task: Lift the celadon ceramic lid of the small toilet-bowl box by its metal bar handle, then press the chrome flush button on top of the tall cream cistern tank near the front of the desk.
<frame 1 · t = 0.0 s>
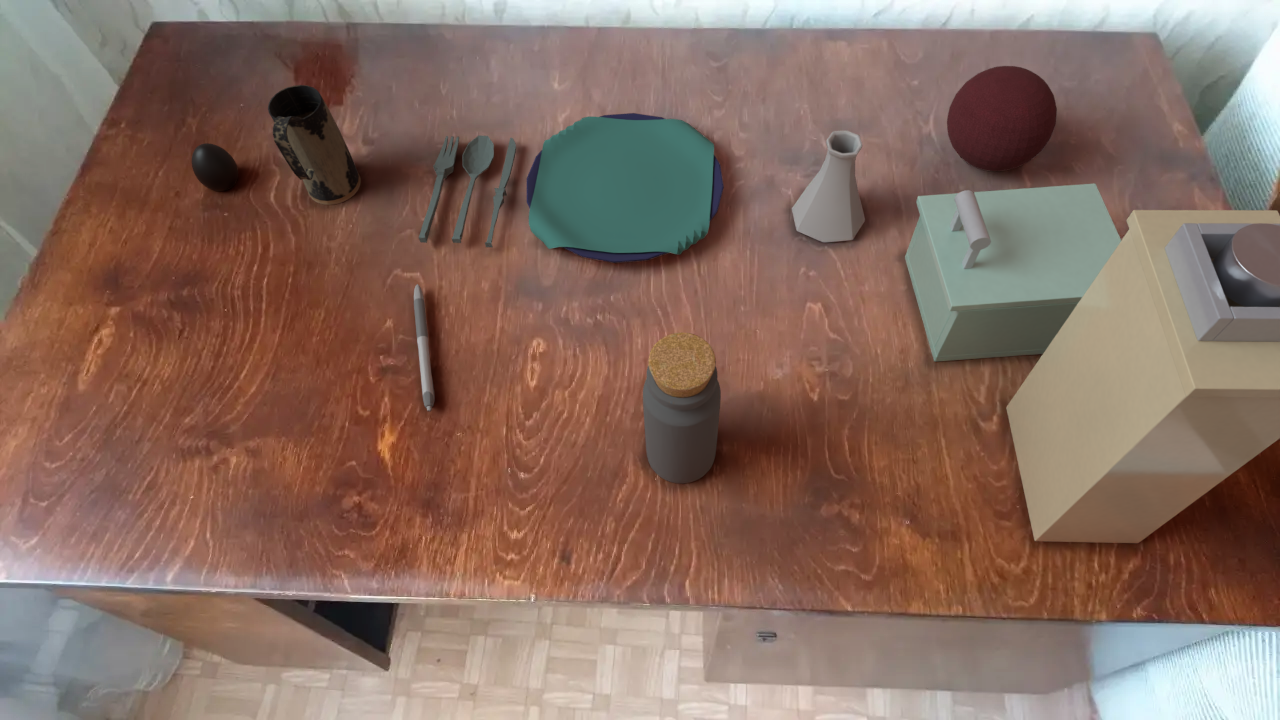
pale green box lid: (1034, 228, 71), point 10 cm above the table, hinge at 0.0°
flask: (827, 217, 86), on the table
cistern: (1068, 472, 71), on the table
egg: (224, 183, 91), on the table
cutlery set: (576, 194, 89), on the table
pen: (426, 351, 79), on the table
flush button: (1264, 266, 47), point 28 cm above the table, slide at 0.1 cm
bottle: (680, 453, 73), on the table
mug: (332, 193, 90), on the table
decorative ball: (984, 157, 89), on the table
bowl box: (998, 301, 80), on the table
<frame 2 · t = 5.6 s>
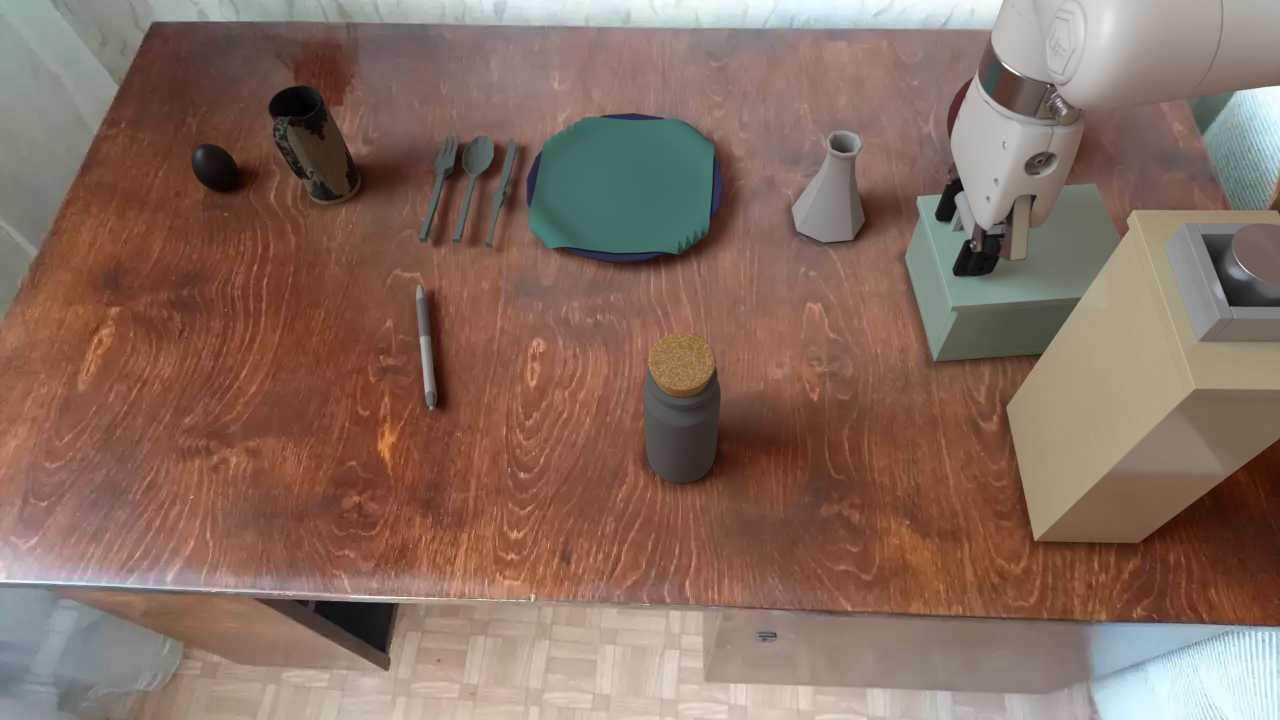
hand: (962, 243, 72), 9 cm above the table, tool pointing down, fingers closed on pale green box lid, 5 cm apart
pale green box lid: (1034, 228, 71), point 10 cm above the table, hinge at 0.0°, touching gripper
everything else where it was.
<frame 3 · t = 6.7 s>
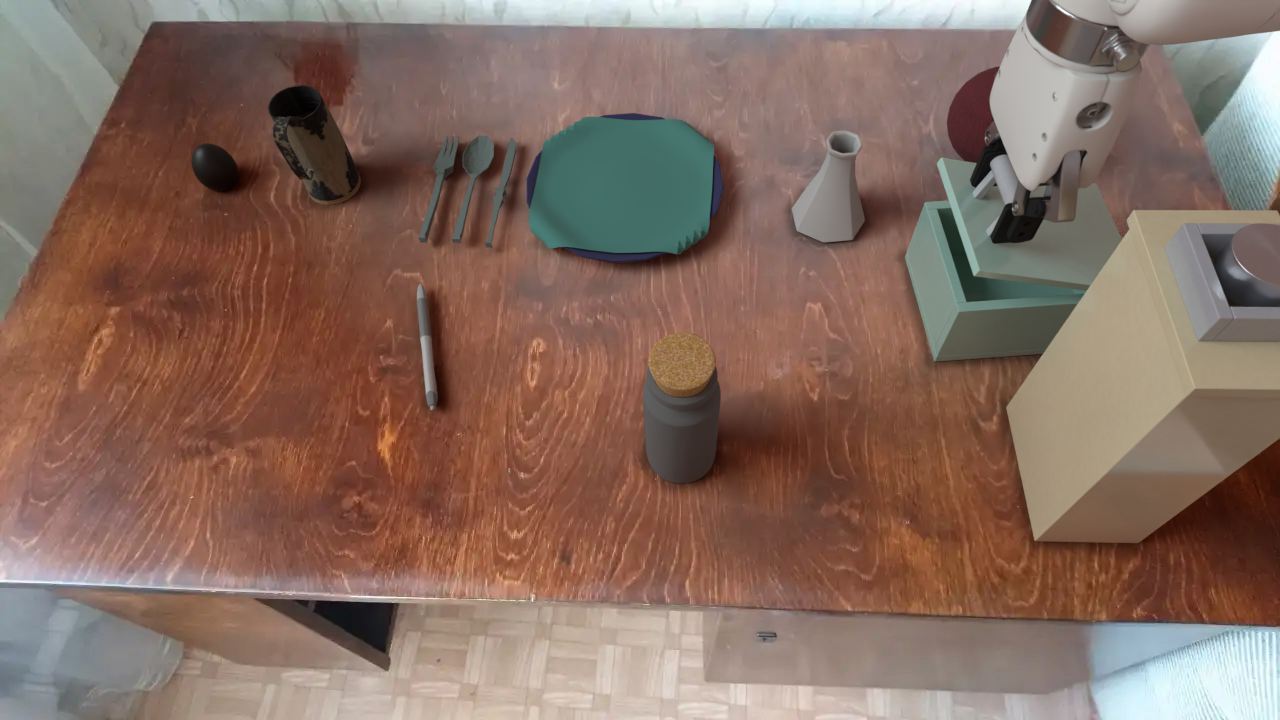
hand: (1000, 209, 68), 13 cm above the table, tool pointing down, fingers closed on pale green box lid, 5 cm apart
pale green box lid: (1056, 209, 69), point 13 cm above the table, hinge at 17.4°, touching gripper
everything else where it was.
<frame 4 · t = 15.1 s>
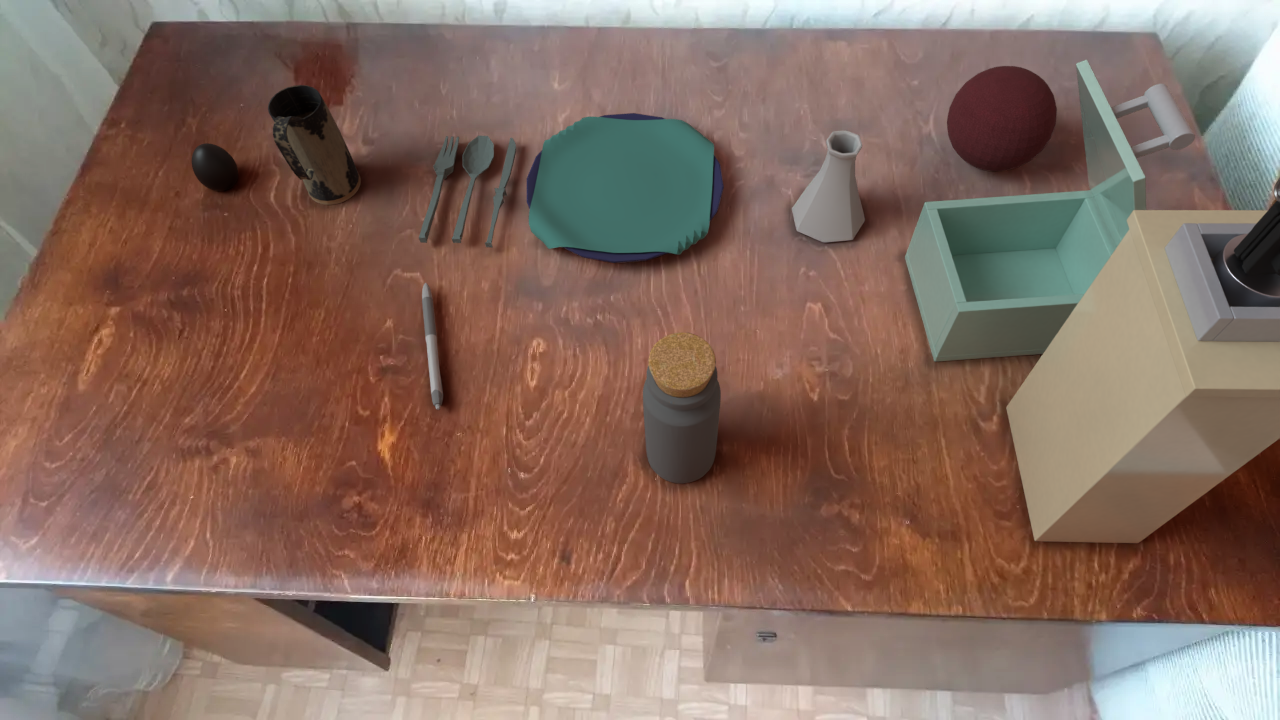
hand: (1266, 261, 47), 28 cm above the table, tool pointing down, fingers closed
pale green box lid: (1143, 173, 66), point 16 cm above the table, hinge at 64.2°
flush button: (1255, 276, 48), point 27 cm above the table, slide at -0.8 cm, touching gripper
everything else where it was.
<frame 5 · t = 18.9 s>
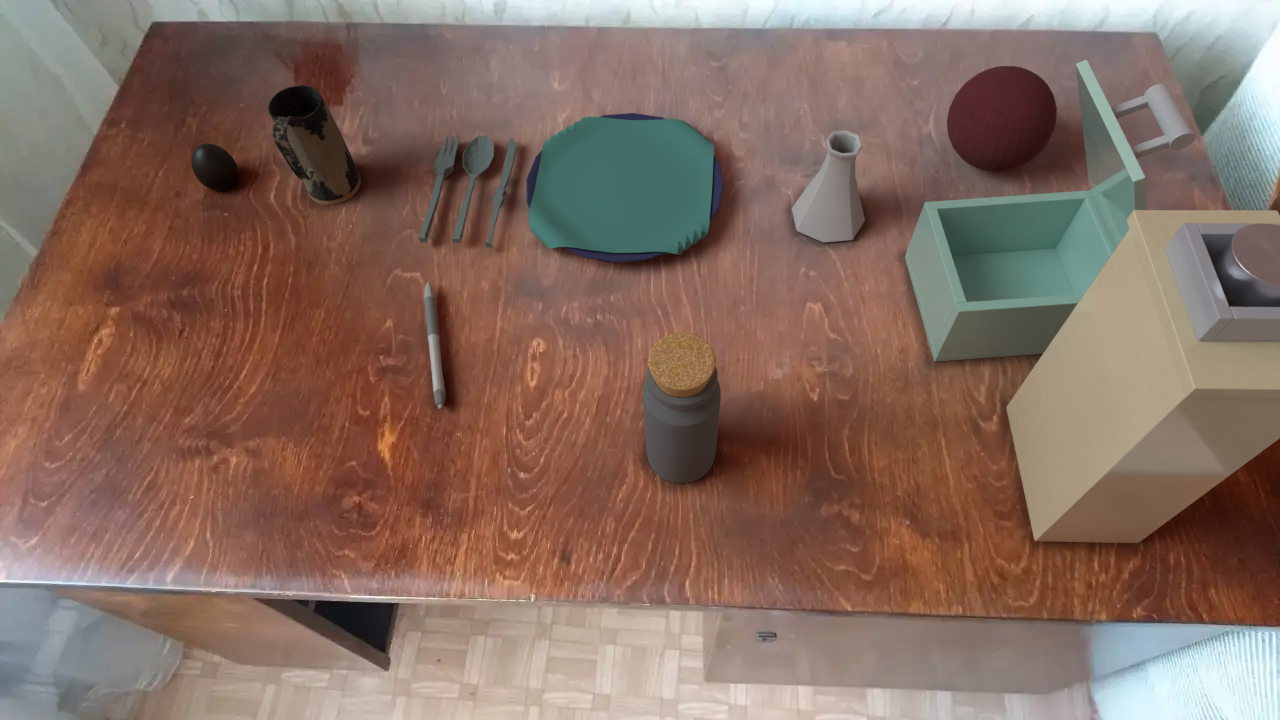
flush button: (1264, 267, 47), point 27 cm above the table, slide at 0.1 cm
everything else where it was.
at the end: pale green box lid at +64° (first picture: +0°); flush button pushed in 0.9 cm at the most during the clip, back to where it started at the end; flush button slide at 0.1 cm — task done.
